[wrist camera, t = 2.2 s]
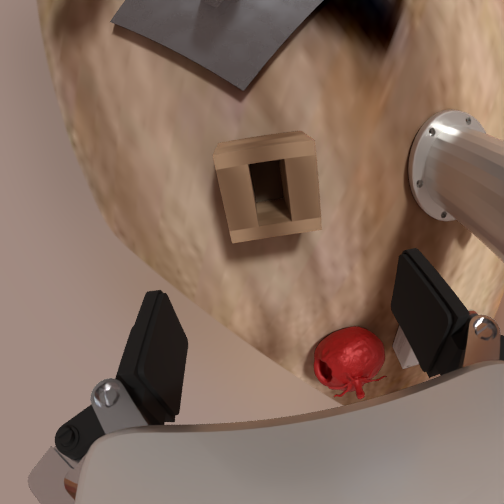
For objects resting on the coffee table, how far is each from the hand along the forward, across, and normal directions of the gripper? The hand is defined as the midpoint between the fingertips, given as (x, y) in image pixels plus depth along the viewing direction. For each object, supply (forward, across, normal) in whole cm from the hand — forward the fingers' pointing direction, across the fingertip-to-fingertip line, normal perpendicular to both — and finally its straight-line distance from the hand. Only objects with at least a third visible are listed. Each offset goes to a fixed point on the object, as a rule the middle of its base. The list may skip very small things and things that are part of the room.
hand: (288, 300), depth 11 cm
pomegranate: (+17, -8, +25) cm, 31 cm away
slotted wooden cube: (+16, 0, 0) cm, 17 cm away
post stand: (+16, 0, -18) cm, 24 cm away
